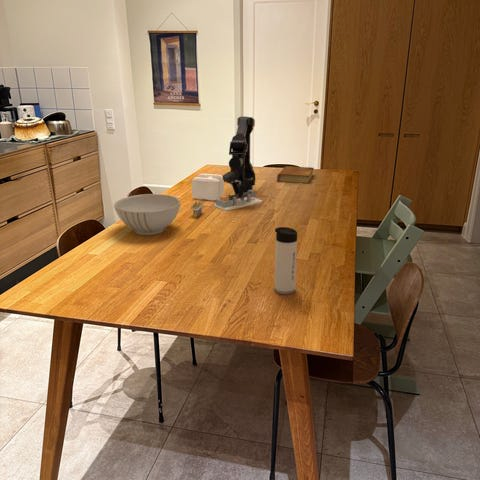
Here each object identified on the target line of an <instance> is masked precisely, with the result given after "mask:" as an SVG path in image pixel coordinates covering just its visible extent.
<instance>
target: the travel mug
mask: <svg viewBox="0 0 480 480" xmlns="http://www.w3.org/2000/svg"><path fill="white" fill-rule="evenodd" d="M274 232H275V233H276V234H275V235H276V237H275V251H274V252H275V254H274V255H275V256H274V257H275V259H274V289H273V290H274V292H275V293H277V294H279V295H291V294H294V292H295V290H296V277H297V275H296V271H297V253H298V232H297V230H296V229H293V228H290V227H286V226H279V227H275V228H274Z"/></svg>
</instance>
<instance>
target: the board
mask: <svg viewBox="0 0 480 480" xmlns="http://www.w3.org/2000/svg"><path fill="white" fill-rule="evenodd" d="M226 195H227V196H230V194H226ZM262 203H263V199H262V200H261V199H258V198H256V197H251V194H247V197H244V198H240V199H237V197H233V200H227V201H223V200H220V198H218V199H216V200H215V203H214V204H213V207H214V208H217V209H220V210H221V211H222V210H223V211H225V212H227V211H231V210H235V209H240V208H245V207H248V206H254V205H258V204H262Z"/></svg>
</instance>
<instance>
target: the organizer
mask: <svg viewBox="0 0 480 480" xmlns="http://www.w3.org/2000/svg"><path fill="white" fill-rule="evenodd" d="M222 176H223V175H221V174H216V173H215V174H211V173H210V174H209V173H199V174H197V176H195V177H193V178H191V182H190V183H191V184H190V185H191V197H192V198H194V199H196V200H200V201H201V200H206V201H207V200H208V201H212V202H215V201H216V199H218V198H220V196H223V195H224V194H225V193H224V189H225V187H224V183H225V182H224V180H223V177H222Z"/></svg>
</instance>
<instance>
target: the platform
mask: <svg viewBox="0 0 480 480" xmlns="http://www.w3.org/2000/svg"><path fill="white" fill-rule="evenodd" d="M204 205H205V202H201V201H197V200H196V201H195V202H193V204H192V206H191V207H190V210H193V217H195V218H196V219H197V218H198V217H199V216H200V215H201V214H203V210H202V209H203V208H202V207H203V206H204Z"/></svg>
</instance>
